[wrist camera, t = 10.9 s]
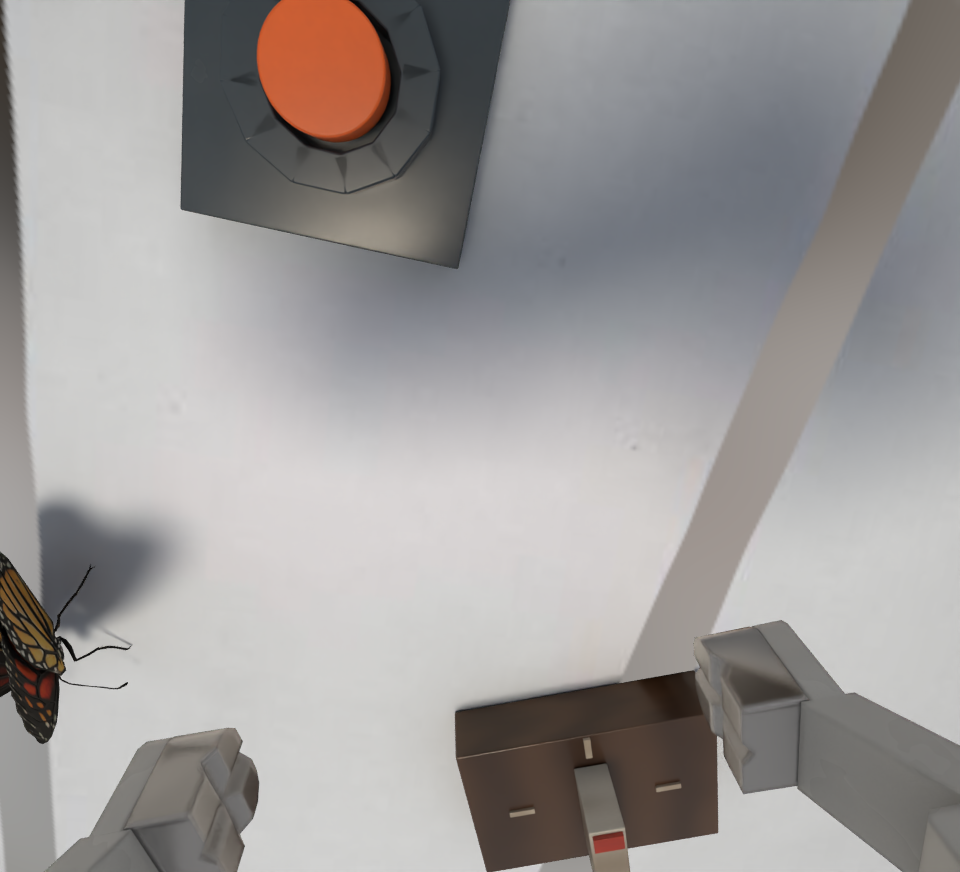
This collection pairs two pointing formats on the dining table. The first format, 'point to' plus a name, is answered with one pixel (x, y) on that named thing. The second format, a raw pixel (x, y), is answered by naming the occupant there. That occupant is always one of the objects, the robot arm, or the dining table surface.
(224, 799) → the robot arm
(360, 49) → the orange button
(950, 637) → the dining table surface
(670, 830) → the dial panel
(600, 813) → the dial knob
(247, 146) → the button box
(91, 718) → the dining table surface
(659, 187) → the dining table surface
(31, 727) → the butterfly
